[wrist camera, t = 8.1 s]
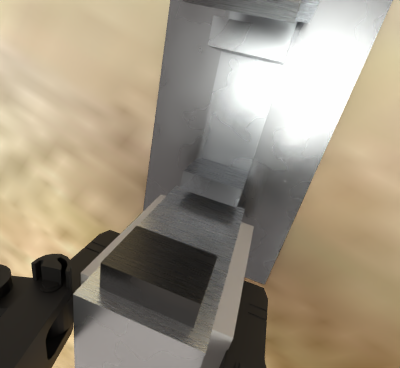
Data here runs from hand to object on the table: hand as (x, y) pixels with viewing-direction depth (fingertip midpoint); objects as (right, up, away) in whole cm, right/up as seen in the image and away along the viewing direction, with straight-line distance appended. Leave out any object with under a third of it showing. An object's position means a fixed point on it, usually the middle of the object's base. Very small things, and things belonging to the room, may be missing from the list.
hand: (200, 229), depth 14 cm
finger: (0, 0, 0) cm, 0 cm away
